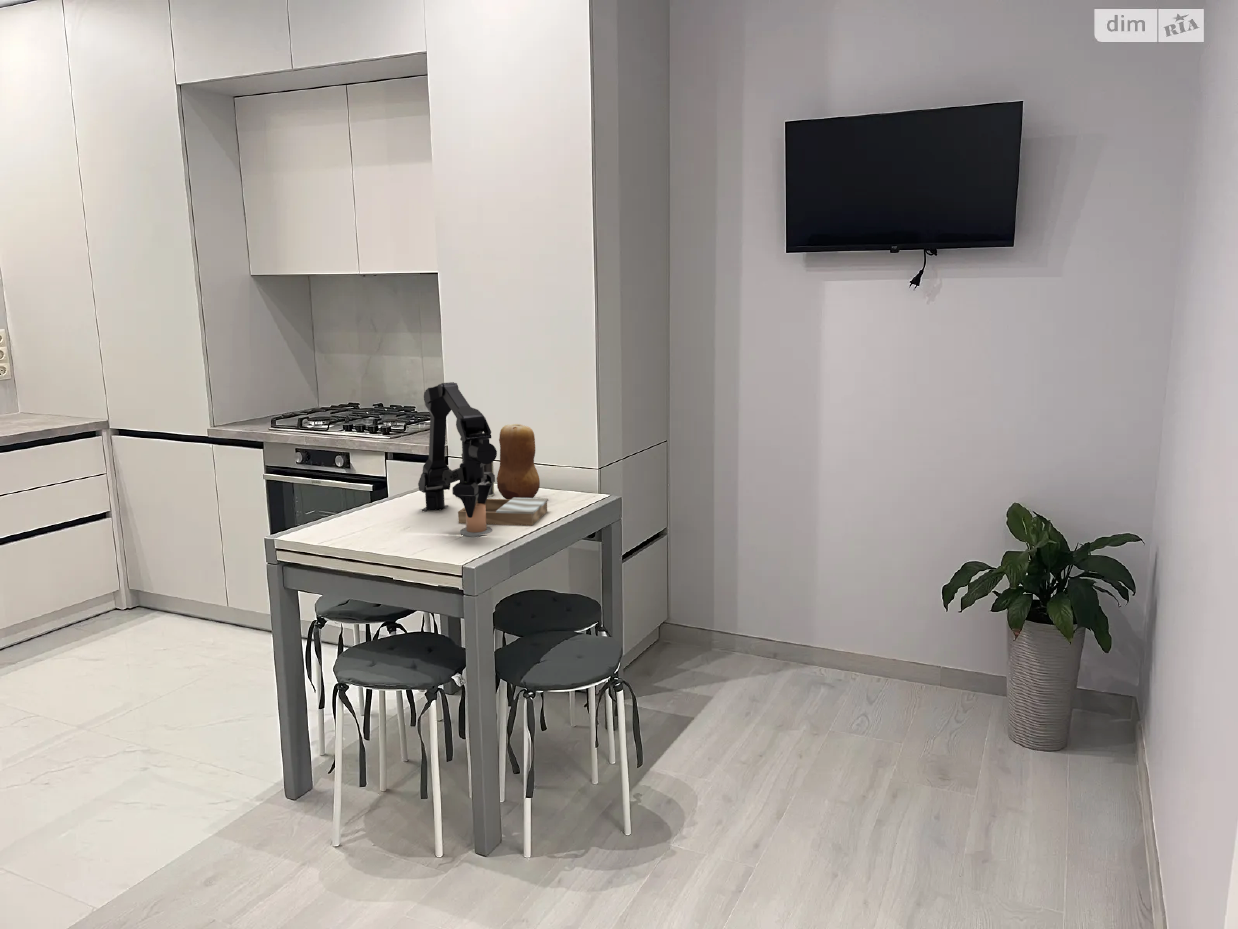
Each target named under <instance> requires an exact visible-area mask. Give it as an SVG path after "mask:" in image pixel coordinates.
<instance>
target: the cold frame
mask: <svg viewBox="0 0 1238 929" xmlns="http://www.w3.org/2000/svg"><path fill="white" fill-rule="evenodd" d="M548 501H550V500H549V498H547V497H546V498H545V497H542V498H540V497H534V498H512V499H505V498H487V501H486V503H485V505H486V525H495V526H496V525H497V526H498V525H499V526H501V525H502V526H503V525H504V526H505V525H506V526H507V525H508V526H527V527H528V526H529V527H531V526H533V525H534V524H535V523H536V522H538V521H539V520H540V519H541V518H542V517H543V516H544V515H546V513H548ZM476 503H478V501H477V502H476ZM457 517H458V518H457V520H458V524H465V525H466V510H465V507H464V506H463V508H461V509H460V510H458V511H457Z"/></svg>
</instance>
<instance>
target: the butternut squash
mask: <svg viewBox="0 0 1238 929" xmlns="http://www.w3.org/2000/svg"><path fill="white" fill-rule="evenodd" d="M498 441H499V468H498V471H497V476H496V484H497V485H496V487H497V490H498V492H499V494H501V497H503V499H512V498H535V496H536V495H537V493H538V492H539V490H540V486H541V485H540V476H539V473H538V470H537V468H536V466H535V456H536V438H535V433H534V431H533V429H532V428H531V427H529V426H527V425H523V424H520V423H513V424H505V425H504V426H502V428H501V429H500V432H499V438H498Z"/></svg>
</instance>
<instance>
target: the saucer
mask: <svg viewBox="0 0 1238 929" xmlns="http://www.w3.org/2000/svg"><path fill="white" fill-rule="evenodd" d="M491 532H493V528H492V527H491V526H487V530H486V531H483V532H476V533H473V532H467V529H466V527H464V528H461V529H460V531H459V533H460V536H462V535H463V537H468V538H479V537H486V536H488V535H487V534H490V533H491Z"/></svg>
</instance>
